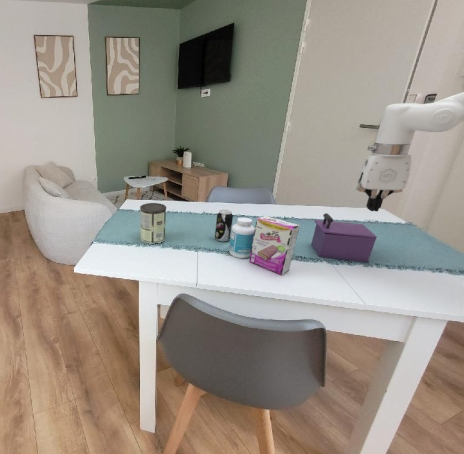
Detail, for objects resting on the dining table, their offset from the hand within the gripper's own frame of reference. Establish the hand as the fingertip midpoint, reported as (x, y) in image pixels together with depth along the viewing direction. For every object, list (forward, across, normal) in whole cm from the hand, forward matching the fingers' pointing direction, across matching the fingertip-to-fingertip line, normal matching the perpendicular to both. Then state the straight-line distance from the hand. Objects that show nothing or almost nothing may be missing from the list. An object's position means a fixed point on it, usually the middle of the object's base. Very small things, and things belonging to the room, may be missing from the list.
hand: (372, 209), depth 90 cm
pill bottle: (+18, -36, -5) cm, 41 cm away
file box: (+18, -4, +5) cm, 19 cm away
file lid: (+9, -4, +5) cm, 11 cm away
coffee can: (+17, -69, 0) cm, 71 cm away
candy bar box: (+18, -28, -12) cm, 35 cm away
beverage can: (+18, -42, +6) cm, 46 cm away
